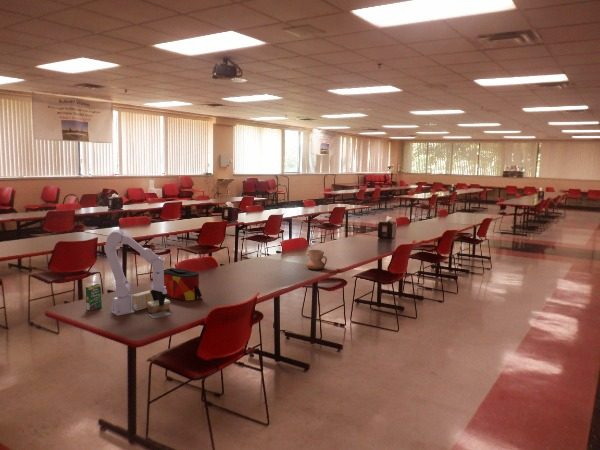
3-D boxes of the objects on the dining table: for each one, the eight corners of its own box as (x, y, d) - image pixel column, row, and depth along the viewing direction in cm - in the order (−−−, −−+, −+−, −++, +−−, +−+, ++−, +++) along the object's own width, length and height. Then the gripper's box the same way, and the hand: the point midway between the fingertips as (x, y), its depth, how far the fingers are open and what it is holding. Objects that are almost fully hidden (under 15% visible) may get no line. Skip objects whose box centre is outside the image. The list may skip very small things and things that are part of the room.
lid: (151, 306, 250) (151, 304, 250) (147, 304, 254) (147, 302, 253) (170, 302, 257) (170, 300, 257) (165, 300, 261) (165, 298, 261)
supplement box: (151, 289, 267) (131, 294, 257) (156, 291, 265) (136, 295, 254) (151, 303, 268) (131, 309, 258) (156, 305, 266) (136, 310, 255)
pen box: (152, 313, 251) (152, 306, 250) (148, 311, 254) (148, 304, 253) (169, 309, 258) (169, 302, 257) (165, 308, 261) (165, 301, 260)
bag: (155, 294, 287) (154, 268, 285) (172, 290, 298) (172, 264, 296) (189, 303, 270) (189, 275, 268) (207, 298, 282) (207, 271, 280)
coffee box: (89, 311, 253) (88, 287, 251) (85, 310, 254) (84, 286, 252) (102, 307, 260) (101, 284, 258) (98, 306, 261) (97, 283, 259)
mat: (154, 318, 243) (154, 318, 243) (147, 315, 248) (147, 314, 248) (171, 314, 250) (171, 314, 250) (165, 311, 255) (165, 310, 255)
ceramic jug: (301, 269, 365) (301, 250, 363) (310, 265, 377) (311, 248, 375) (321, 272, 356) (322, 254, 353) (330, 269, 368) (331, 251, 366)
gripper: (171, 281, 251) (172, 305, 253) (158, 276, 261) (159, 299, 263) (159, 283, 246) (160, 308, 248) (146, 277, 257) (147, 302, 258)
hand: (158, 304), depth 255 cm, fingers closed on lid, 5 cm apart
